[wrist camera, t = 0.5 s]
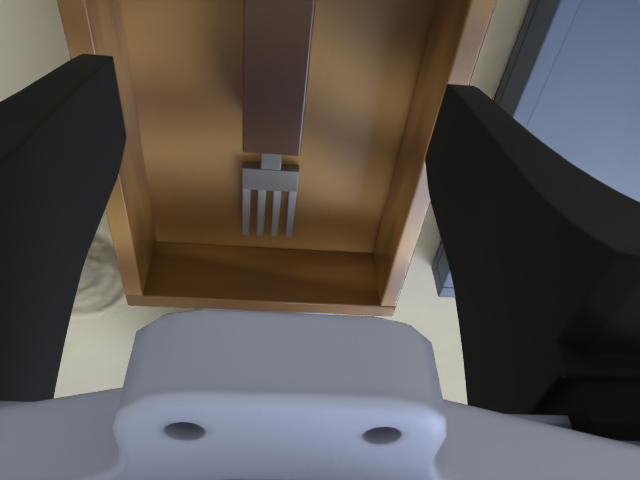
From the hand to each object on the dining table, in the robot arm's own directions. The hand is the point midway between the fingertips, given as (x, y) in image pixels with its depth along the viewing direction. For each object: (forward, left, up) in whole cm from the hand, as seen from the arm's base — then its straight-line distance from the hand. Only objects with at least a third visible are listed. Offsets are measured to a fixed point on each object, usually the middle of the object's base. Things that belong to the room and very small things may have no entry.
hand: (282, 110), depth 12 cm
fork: (-6, 0, -9) cm, 11 cm away
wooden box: (-6, 0, -10) cm, 12 cm away
